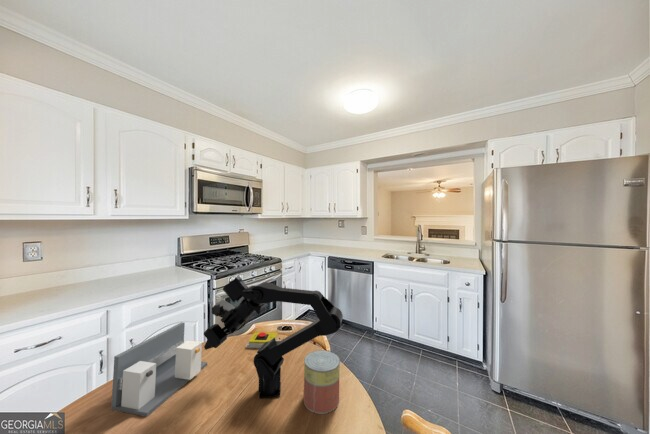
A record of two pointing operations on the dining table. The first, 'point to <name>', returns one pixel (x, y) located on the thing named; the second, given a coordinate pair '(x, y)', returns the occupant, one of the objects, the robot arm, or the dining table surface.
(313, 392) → the canned food
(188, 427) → the dining table surface
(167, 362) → the mounting board
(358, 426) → the dining table surface
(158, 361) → the steel rail
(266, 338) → the emergency button
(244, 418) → the dining table surface
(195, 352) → the breaker module
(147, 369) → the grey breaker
